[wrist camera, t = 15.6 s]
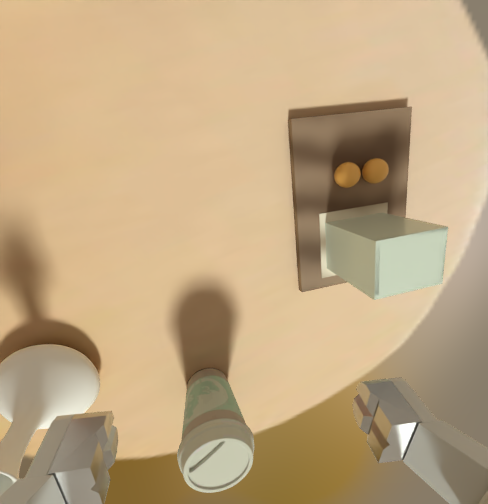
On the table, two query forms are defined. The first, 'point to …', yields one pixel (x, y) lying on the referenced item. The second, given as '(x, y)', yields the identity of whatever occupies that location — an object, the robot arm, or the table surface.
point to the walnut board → (329, 192)
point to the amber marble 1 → (347, 174)
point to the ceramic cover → (386, 253)
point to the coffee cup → (213, 435)
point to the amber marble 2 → (375, 170)
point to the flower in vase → (40, 397)
